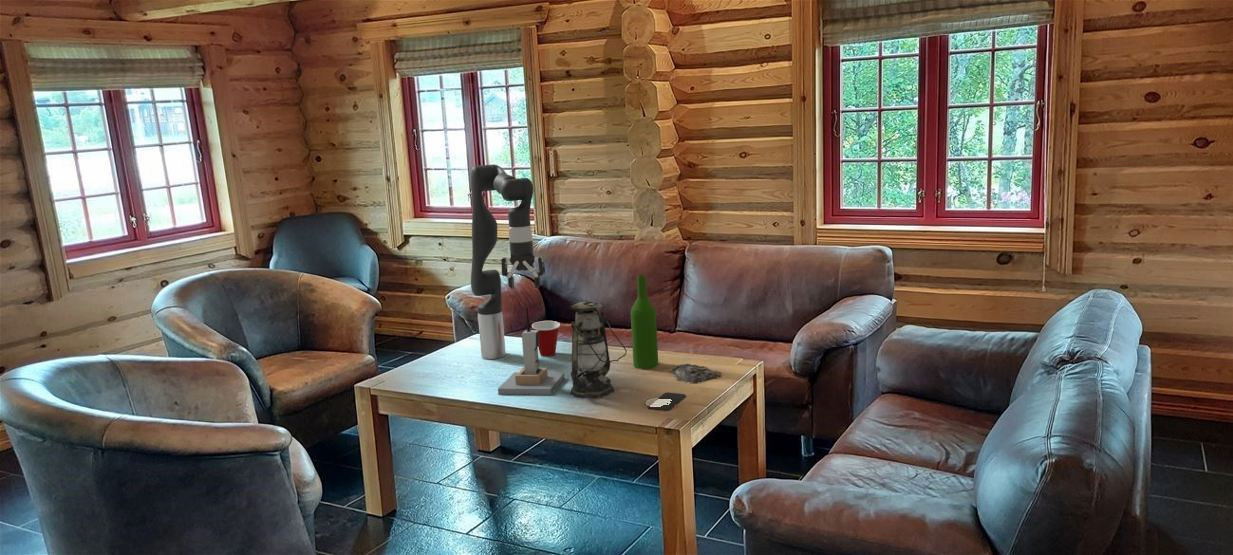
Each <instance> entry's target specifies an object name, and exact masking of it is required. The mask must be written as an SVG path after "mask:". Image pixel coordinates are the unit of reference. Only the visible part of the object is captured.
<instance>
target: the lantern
mask: <svg viewBox="0 0 1233 555" xmlns="http://www.w3.org/2000/svg"><path fill="white" fill-rule="evenodd" d="M603 306H604V304H603V303H601V302H597V301H590V300H589V301H587V300H586V301H579V302H578V303H574V304H573V305H571V306H570V308H571V309H572V310H575V311H576V312H575V321H574V320H572V321H571V325H570V327H571V328H572V331H571V332H572V333H571V339H572V340H571V371H570V377H571V381H572V387H571V388H570V392H569V393H570V395H571V396H572V395H573V397H575V398H578V399H599V398H598V397H600V398H604V397H607V396H610V395H612V394H613V393H614V392H615V387H614V386H613V384H612V383H611V379H610V378H609V377H607V376H606V375H607V374H608V373H609V371H610V368H611V362H619V360H621V359H622V358H623V357H625V356H626V355H627V349H626V346H624V344H623V342H621V340H620V339H619V338H618V337H617V335H616V334H615V332H614V331H613V330H612V327H611V324H610V323H609V322H608V320H607V319H606V317H605V314H604V312H603V311H599V310H598V309H600V308H602V307H603ZM605 322H606V324H607V325H608V328H609V330H610V332H611V334H613V336H614V337H615V338H616V340H617V341H618V342H619V344H620V345H621V346H622V348H623V349H624V350H625V353H623V355H622V356H619V357H618V358H617V359H613V360H611V359H610V353H609V346H608V341H607V340H608V339H607V333H606V325H605ZM603 396H604V397H603Z"/></svg>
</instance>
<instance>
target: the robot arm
mask: <svg viewBox="0 0 1233 555" xmlns="http://www.w3.org/2000/svg"><path fill="white" fill-rule="evenodd" d="M470 170H471V171H470V190H471V205H472V206H471V208H472V209H471V210H472V213H471V214H472V217H471V218H472V219H471V220H472V221H471V244H472V248H471V249H472V250H471V251H472V252H471V253H472V254H471V255H472V256H471V257H472V258H471V268H470V270H471V272H470V288H471V292H472V294H473V295H474V296H476V297H481V296H482V297H483V296H489V295H490V296H489V297H488V299H486V300H485V301H483V302H481V303H480V304H478V305H477V308H476V309H477V321H478V329H479V330H478V331H479V332H478V333H479V342H480V353H481V354H480V356H481V358H482V359H485V360H495V359H500V358H504V357H505V356H506V355H507V354H506V353H507V352H506V342H505V340H506V339H505V331H504V330H505V328H504V320H503V318H504V317H503V316H504V315H503V302H502V301H503V300H502V299H503V298H502V278H501V276H502V277H506V278H507V282H508V288H510V289H511V290H513V289H515V277H514V274H515V272H516V271H518V272H519V271H529V272H530V273H532V275H533V276H534V286H535V287H534V288H535V289H539V288H540V287H541V277H542V276H543V275H545V274H546V267H545V266H546V265H545V260H544V256H542V255H541V256H537V257H535V255H534V242H533V231H532V227H531V225H532V224H531V213H530V212H531V206H532V205H531V204H532V200H533V195H534V184H533V182H532V180H531V179H530V178H529V177H528V178H527V177H520V178H516V177H514V176H513V175H511V174H508V173H507V172H506V171H505V170H504V169H503V168H502V167H501V166H500V165H499V164H495V163H494V164H482V165H480V164H479V165H474V166H472V168H471V169H470ZM490 191H491V192H493V191H496V192H497V193H498V194H499V195H501V197H502V199H503V200H504V201H507V202H513V201H515V202H516V201H520V203H519V205H518V206H515V207H512V208H510V209H509V210H508V212H507V218H508V240H509V251H510V257H502V258H501V275H500V272H499V271H498V270H497V269H487V270H483V269H484V265H485V263H486V261H487V259H488V257H489V256H490V254H491V253H492V251H493V250H494V248H495V247H496V245H497V241H498V223H497V220H496V218H495V217H494V215H493V213H492V212H491V211H490V210H489V208H488V207H487V205H486V203H485V202H484V199H483V192H490ZM509 263H510V264H511V265H512V267H511V268H510V271H509V272H508V265H509ZM534 263H537V265H538V269H537V266H535V265H534Z"/></svg>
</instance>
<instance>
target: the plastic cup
mask: <svg viewBox="0 0 1233 555" xmlns="http://www.w3.org/2000/svg"><path fill="white" fill-rule="evenodd" d="M560 326H561V323H560V322H558V321H556V320H555V321H553V320H542V321H536V322H533V323H532V324H531V328H532V330H539V345H538V353H539V356H541V357H551V356H555V355H556V353H557V343H558V334H559V328H560Z"/></svg>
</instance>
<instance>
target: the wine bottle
mask: <svg viewBox="0 0 1233 555" xmlns="http://www.w3.org/2000/svg"><path fill="white" fill-rule="evenodd" d="M636 278H637V280H636V281H637V283H636V284H637V298H636V299H635V302H634V303H633V304H632V307H631V309H630V310H631V311H630V325H631V326H630V327H631V343H632V344H631V345H632V361H633V362H632V365H633V368H635V369H638V370H650V369H651V370H652V369H654V368H657V367H658V366H659V352H658V350H659V349H658V348H659V346H658V331H657V330H658V329H657V312H656V307H655V306H654V304H653V303H652V302H651V300H650V299H649V297H648V294H647V293H648V292H647V279H646V278H647V276H646V275H645V274H639V275H637V276H636Z"/></svg>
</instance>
